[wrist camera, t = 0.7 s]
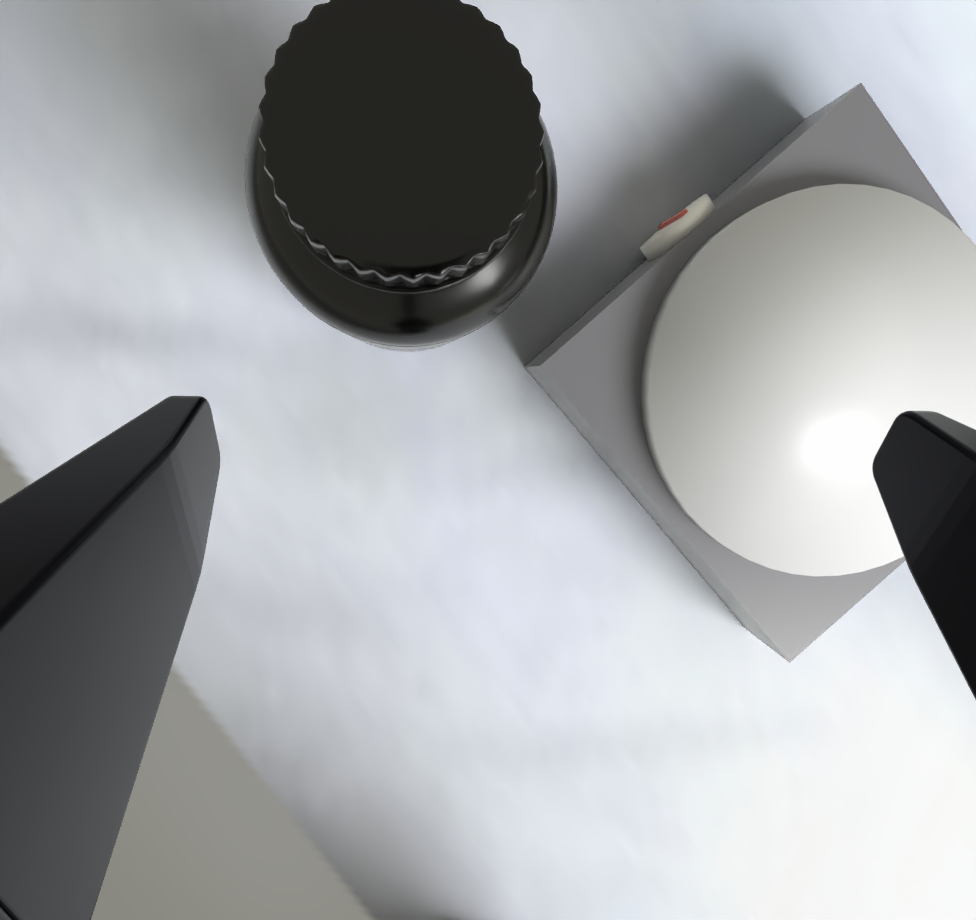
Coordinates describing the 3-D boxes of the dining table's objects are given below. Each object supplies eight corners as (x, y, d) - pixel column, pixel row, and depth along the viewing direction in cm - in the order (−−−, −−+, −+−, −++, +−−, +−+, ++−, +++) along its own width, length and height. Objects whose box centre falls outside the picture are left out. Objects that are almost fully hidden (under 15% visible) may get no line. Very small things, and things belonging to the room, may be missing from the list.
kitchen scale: (747, 630, 26) (802, 672, 23) (512, 353, 24) (530, 349, 20) (1006, 401, 26) (1105, 406, 22) (795, 103, 24) (866, 53, 20)
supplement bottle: (261, 278, 23) (100, 175, 11) (375, 100, 23) (333, -201, 11) (437, 393, 24) (460, 414, 12) (547, 225, 24) (681, 77, 12)
